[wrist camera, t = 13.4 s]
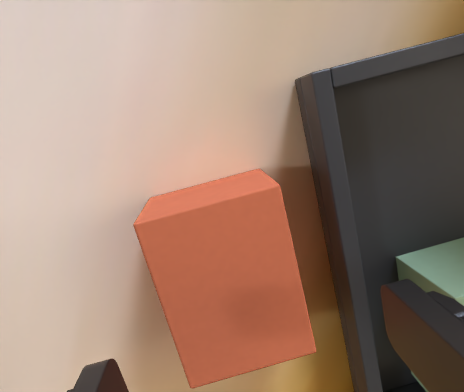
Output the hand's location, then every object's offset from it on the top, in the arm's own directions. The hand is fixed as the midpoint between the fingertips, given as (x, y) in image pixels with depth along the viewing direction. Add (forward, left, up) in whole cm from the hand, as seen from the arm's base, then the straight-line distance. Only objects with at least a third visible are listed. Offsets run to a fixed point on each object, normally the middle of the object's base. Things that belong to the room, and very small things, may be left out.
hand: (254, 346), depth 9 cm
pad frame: (+11, -2, -7) cm, 13 cm away
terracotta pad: (0, 0, -7) cm, 7 cm away
